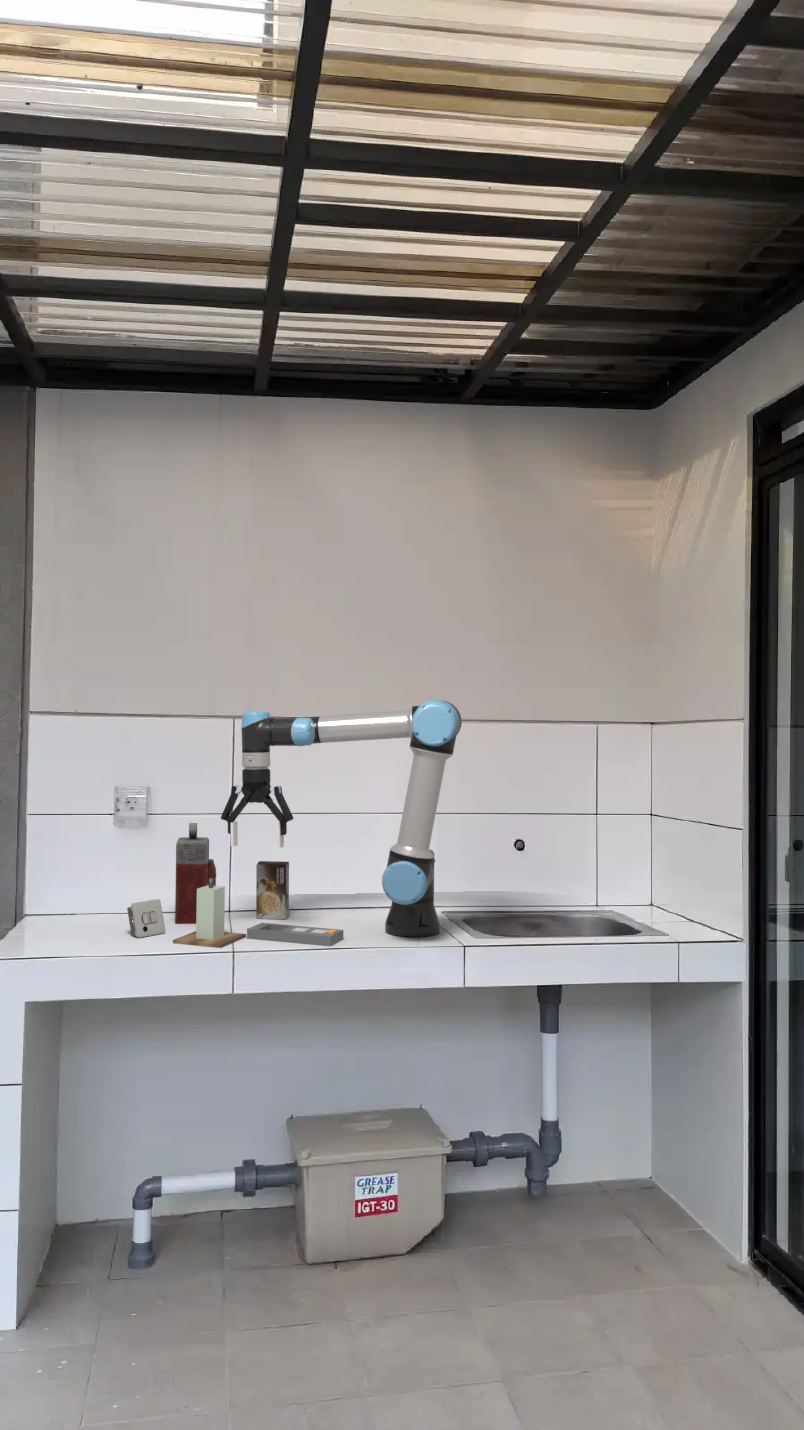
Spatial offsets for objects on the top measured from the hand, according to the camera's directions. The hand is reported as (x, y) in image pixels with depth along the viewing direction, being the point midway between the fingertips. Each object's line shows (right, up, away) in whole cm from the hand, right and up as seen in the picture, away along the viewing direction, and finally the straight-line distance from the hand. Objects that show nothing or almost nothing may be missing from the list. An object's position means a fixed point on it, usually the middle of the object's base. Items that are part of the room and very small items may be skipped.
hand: (257, 846), depth 295 cm
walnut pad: (-12, -24, -7) cm, 27 cm away
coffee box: (+1, -24, +25) cm, 34 cm away
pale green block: (-11, -23, -7) cm, 27 cm away
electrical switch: (-30, -24, -2) cm, 38 cm away
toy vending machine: (-20, -24, +18) cm, 36 cm away
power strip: (+11, -24, -4) cm, 27 cm away
